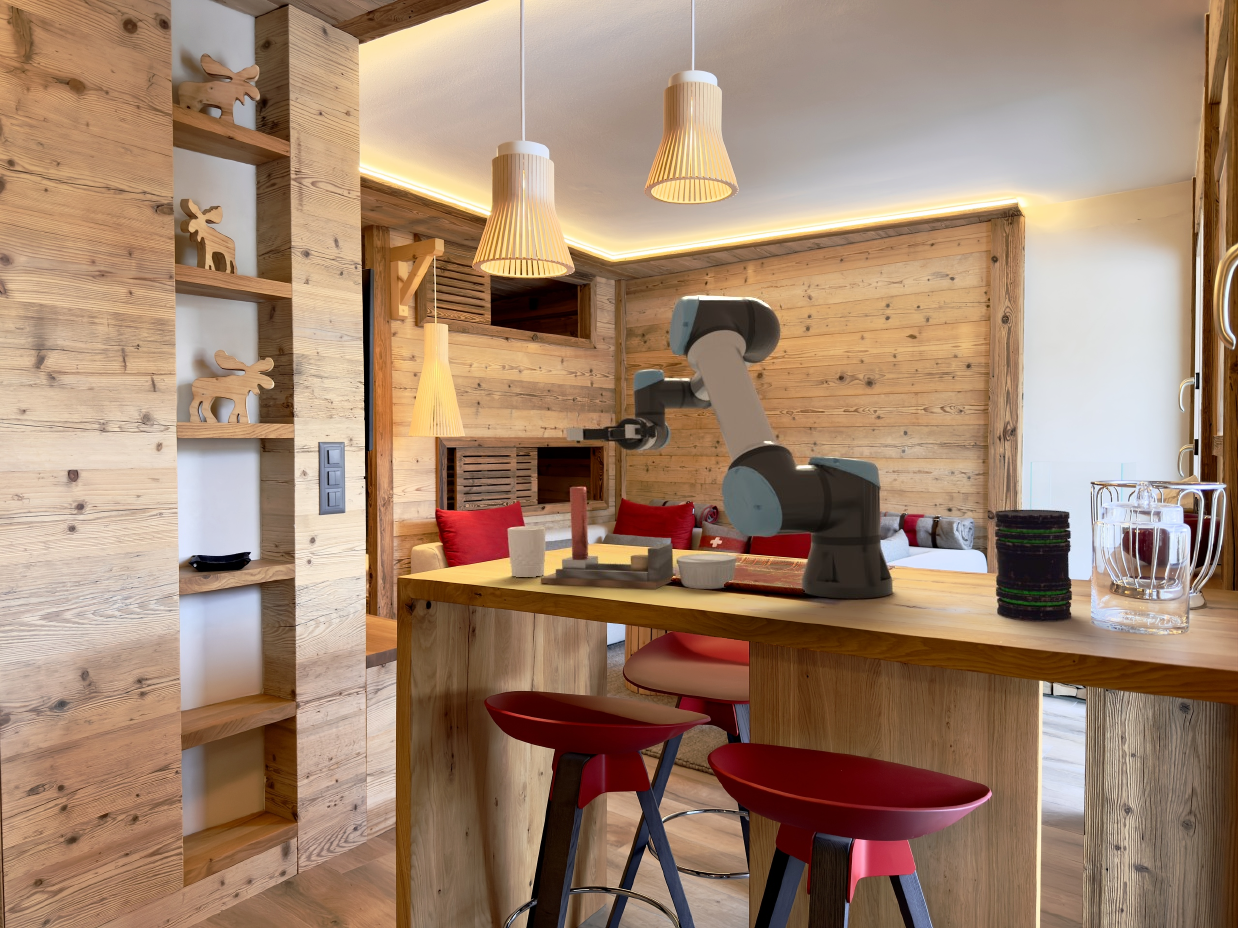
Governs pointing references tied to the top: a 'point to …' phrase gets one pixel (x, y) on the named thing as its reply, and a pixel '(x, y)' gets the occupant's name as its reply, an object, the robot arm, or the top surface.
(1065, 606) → the dark brown cylinder
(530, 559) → the white cup
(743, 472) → the robot arm
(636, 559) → the nut
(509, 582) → the top surface
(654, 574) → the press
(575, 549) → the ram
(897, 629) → the top surface
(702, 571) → the ramekin
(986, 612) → the top surface
